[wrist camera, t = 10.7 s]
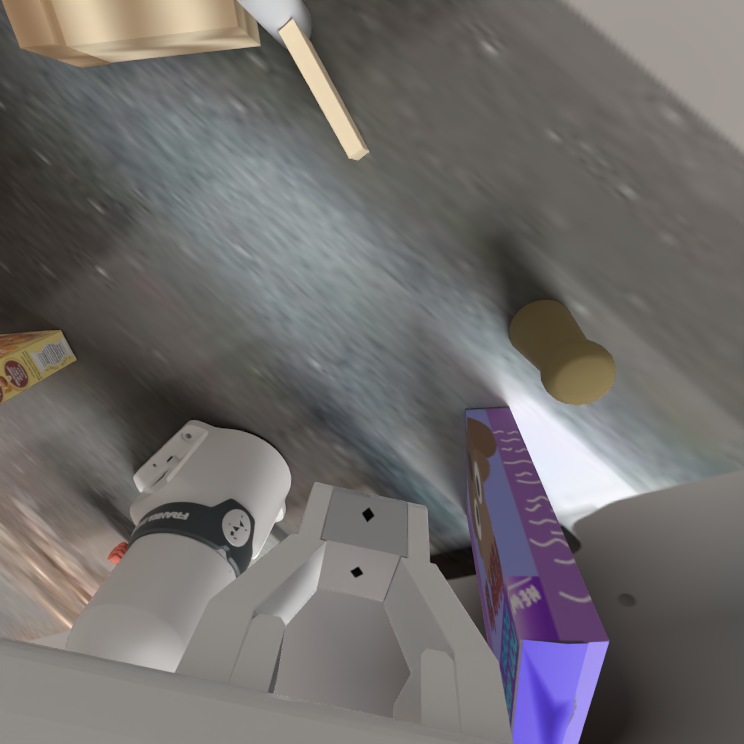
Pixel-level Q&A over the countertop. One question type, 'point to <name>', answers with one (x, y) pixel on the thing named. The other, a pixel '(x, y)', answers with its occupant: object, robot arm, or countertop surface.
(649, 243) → the countertop surface
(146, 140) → the countertop surface
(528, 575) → the cereal box
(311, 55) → the posts
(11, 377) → the candy box
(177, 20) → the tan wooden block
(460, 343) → the countertop surface
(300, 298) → the countertop surface
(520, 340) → the cork
